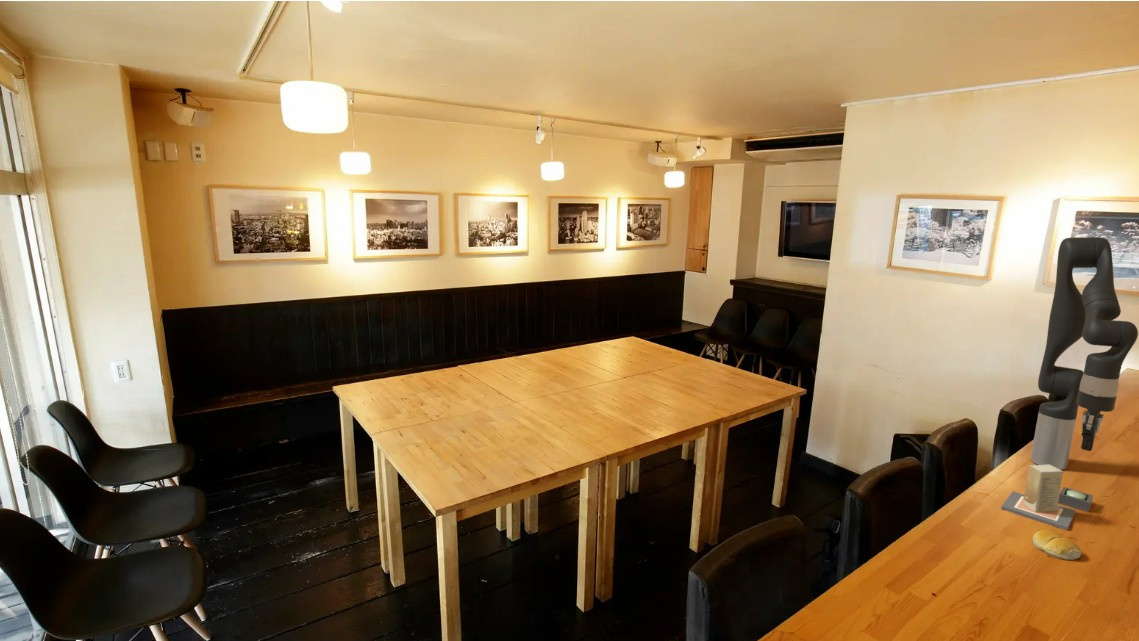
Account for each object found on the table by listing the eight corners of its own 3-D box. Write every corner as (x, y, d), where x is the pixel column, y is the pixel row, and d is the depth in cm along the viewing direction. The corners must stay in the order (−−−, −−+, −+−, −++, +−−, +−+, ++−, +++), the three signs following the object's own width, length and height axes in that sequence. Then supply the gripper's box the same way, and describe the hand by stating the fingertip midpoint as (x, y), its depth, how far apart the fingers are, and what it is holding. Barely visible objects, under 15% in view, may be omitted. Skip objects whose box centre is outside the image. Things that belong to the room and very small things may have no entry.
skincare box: (1043, 503, 154) (1050, 464, 152) (1057, 512, 150) (1064, 471, 147) (1021, 504, 154) (1028, 464, 151) (1034, 512, 150) (1041, 471, 147)
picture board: (1012, 493, 161) (1012, 490, 161) (1075, 512, 151) (1076, 509, 151) (1001, 508, 153) (1001, 505, 153) (1067, 530, 143) (1067, 527, 143)
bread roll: (1050, 537, 140) (1053, 523, 139) (1086, 559, 131) (1090, 544, 130) (1022, 540, 139) (1024, 526, 138) (1057, 562, 130) (1060, 547, 129)
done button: (1067, 494, 158) (1068, 488, 158) (1086, 499, 155) (1087, 494, 155) (1064, 499, 156) (1066, 493, 155) (1083, 504, 153) (1084, 498, 152)
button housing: (1061, 495, 160) (1063, 486, 160) (1091, 504, 155) (1093, 495, 155) (1057, 502, 156) (1059, 494, 156) (1088, 512, 151) (1089, 502, 151)
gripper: (1083, 382, 156) (1072, 438, 160) (1075, 393, 148) (1064, 452, 151) (1119, 389, 150) (1107, 446, 154) (1114, 400, 142) (1101, 461, 146)
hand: (1086, 449), depth 153 cm, fingers closed
